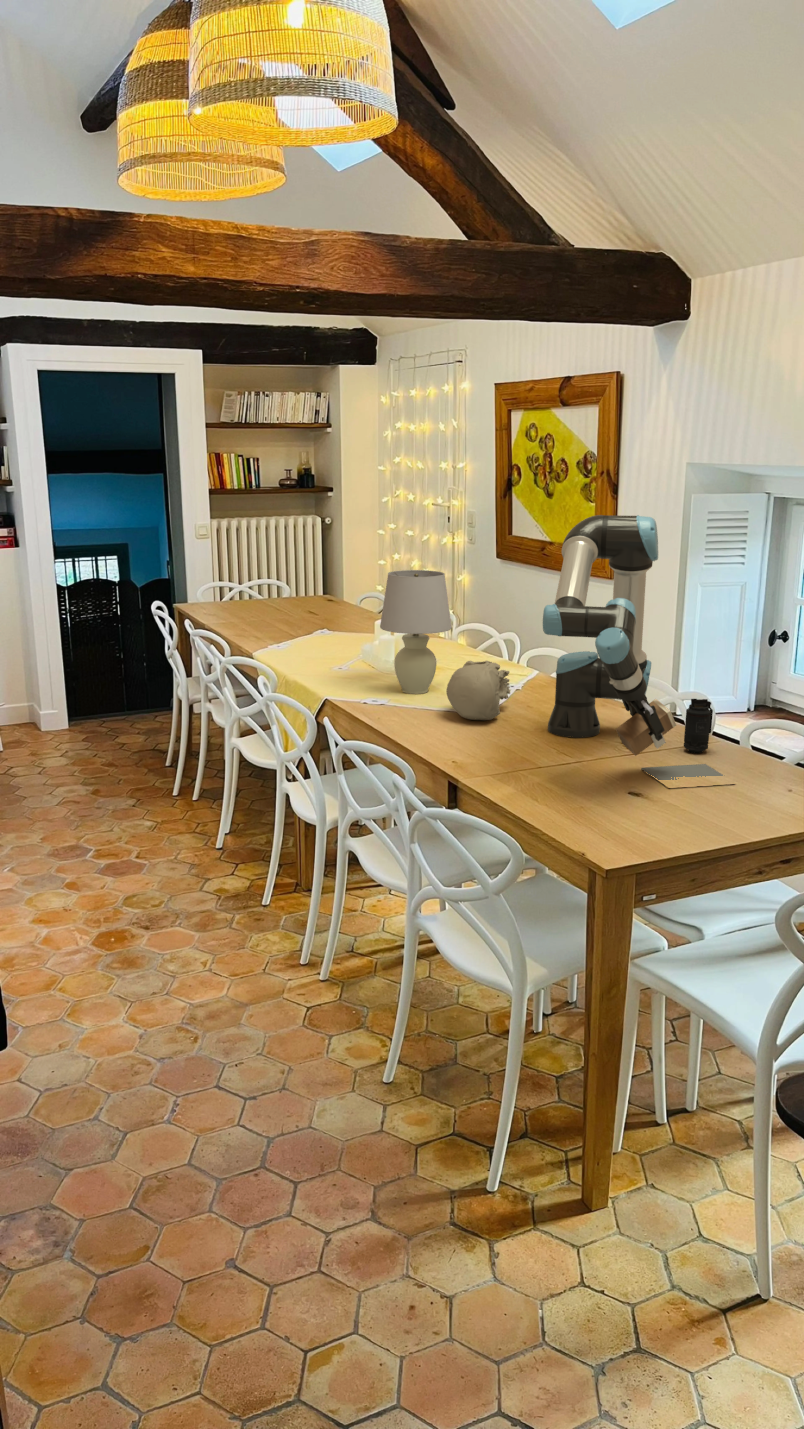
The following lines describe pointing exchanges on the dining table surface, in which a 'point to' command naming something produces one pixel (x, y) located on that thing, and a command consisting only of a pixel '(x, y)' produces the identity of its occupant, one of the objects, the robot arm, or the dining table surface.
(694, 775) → the mat
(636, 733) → the block
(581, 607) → the robot arm
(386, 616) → the lamp
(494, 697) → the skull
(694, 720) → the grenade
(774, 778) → the dining table surface
